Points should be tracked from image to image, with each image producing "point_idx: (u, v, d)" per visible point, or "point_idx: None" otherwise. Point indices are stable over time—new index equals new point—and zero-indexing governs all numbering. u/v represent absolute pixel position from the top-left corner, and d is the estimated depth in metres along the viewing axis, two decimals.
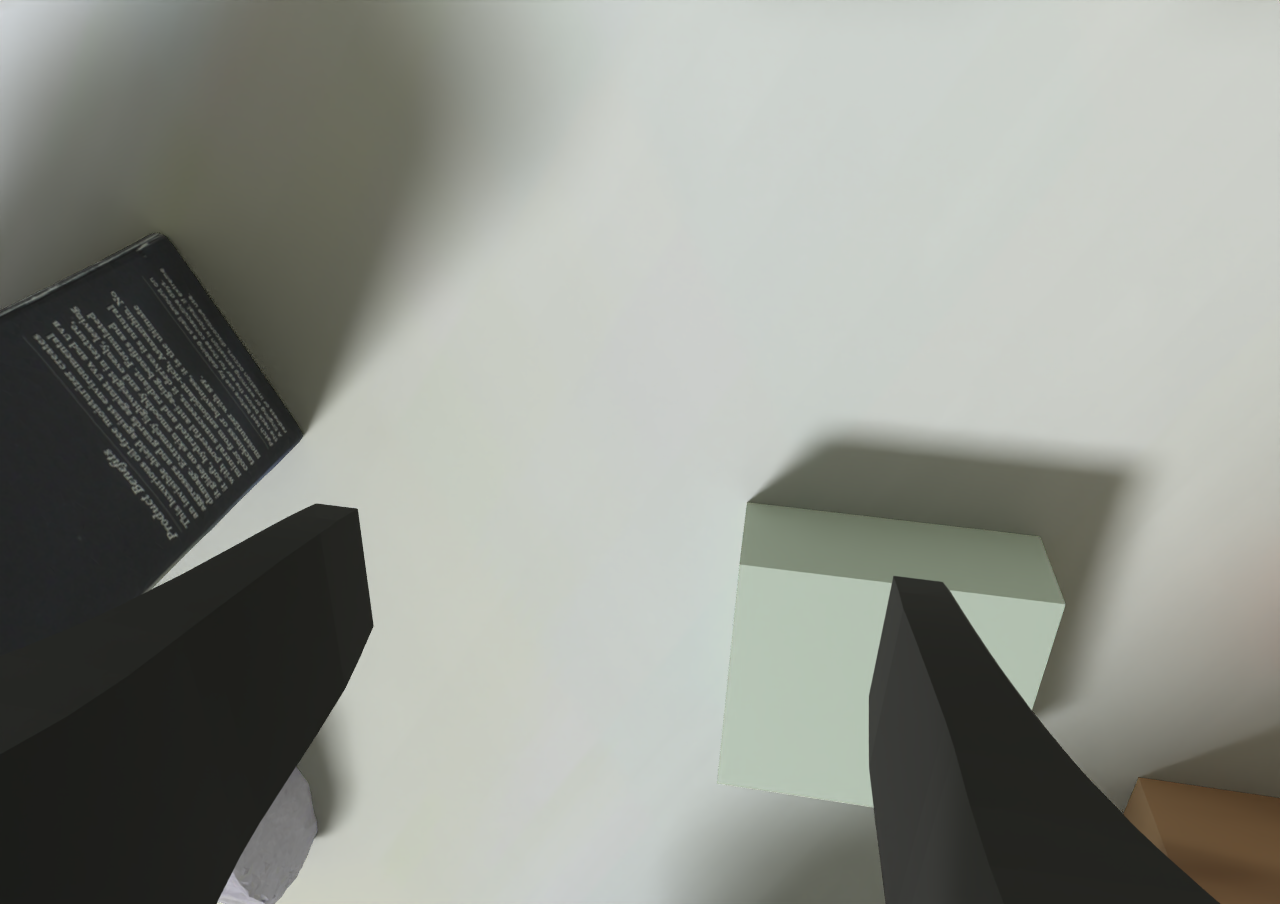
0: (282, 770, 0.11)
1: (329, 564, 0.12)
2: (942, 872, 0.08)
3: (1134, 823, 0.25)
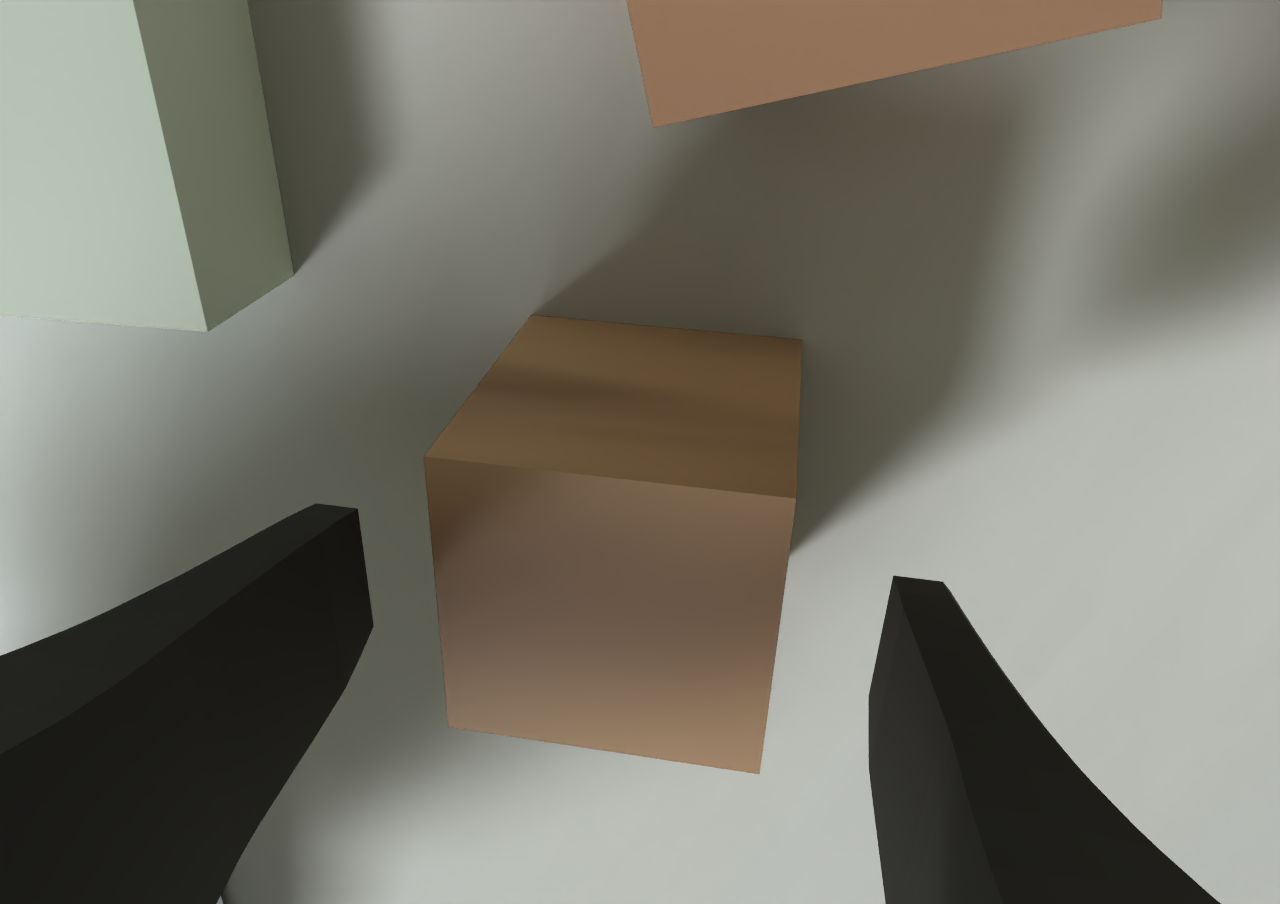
0: (282, 770, 0.11)
1: (329, 564, 0.12)
2: (942, 872, 0.08)
3: None
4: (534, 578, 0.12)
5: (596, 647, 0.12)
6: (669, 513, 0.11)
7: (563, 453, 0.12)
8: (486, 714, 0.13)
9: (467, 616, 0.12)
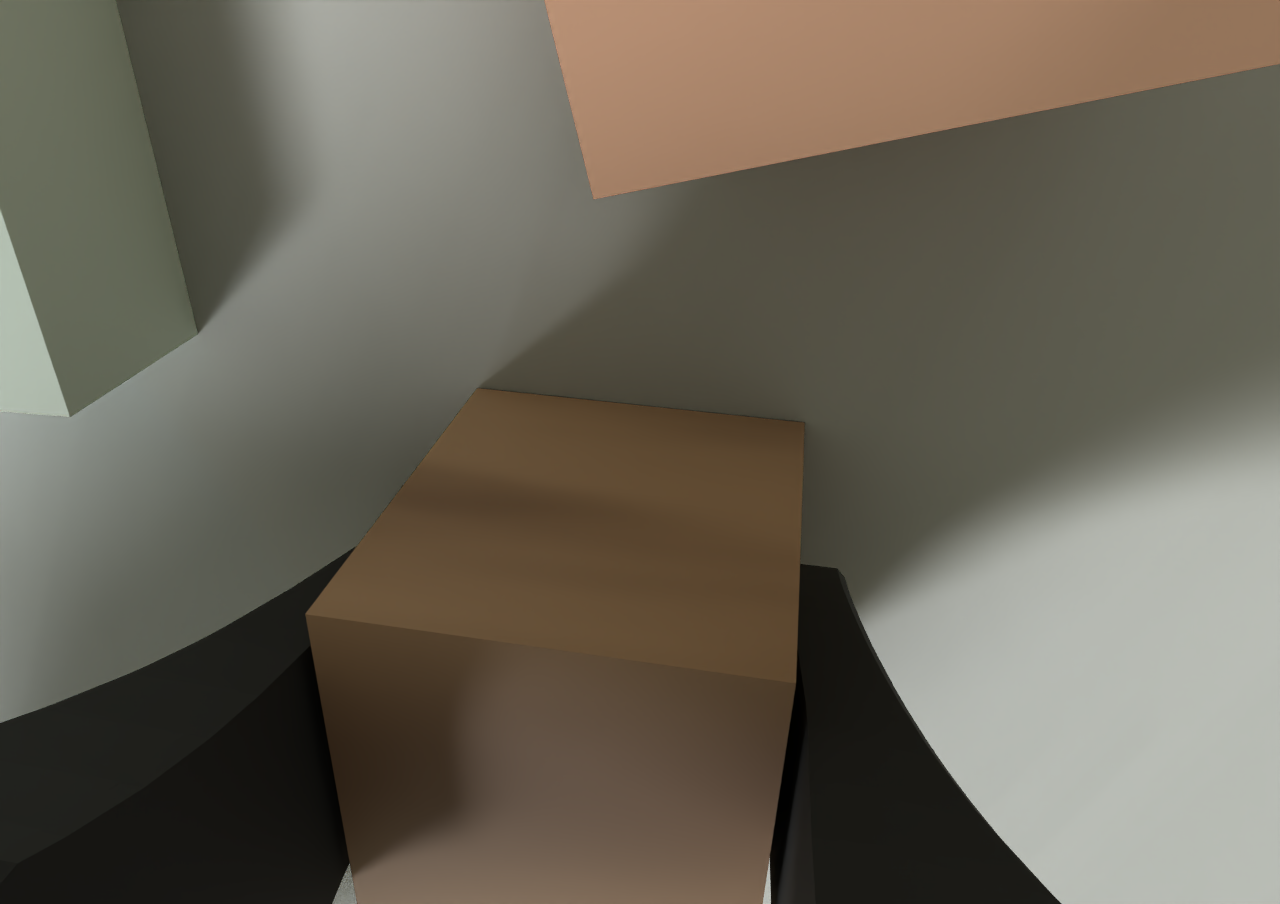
0: None
1: None
2: (795, 848, 0.08)
3: None
4: (456, 761, 0.09)
5: (540, 843, 0.10)
6: (627, 694, 0.08)
7: (490, 606, 0.09)
8: None
9: (375, 800, 0.10)
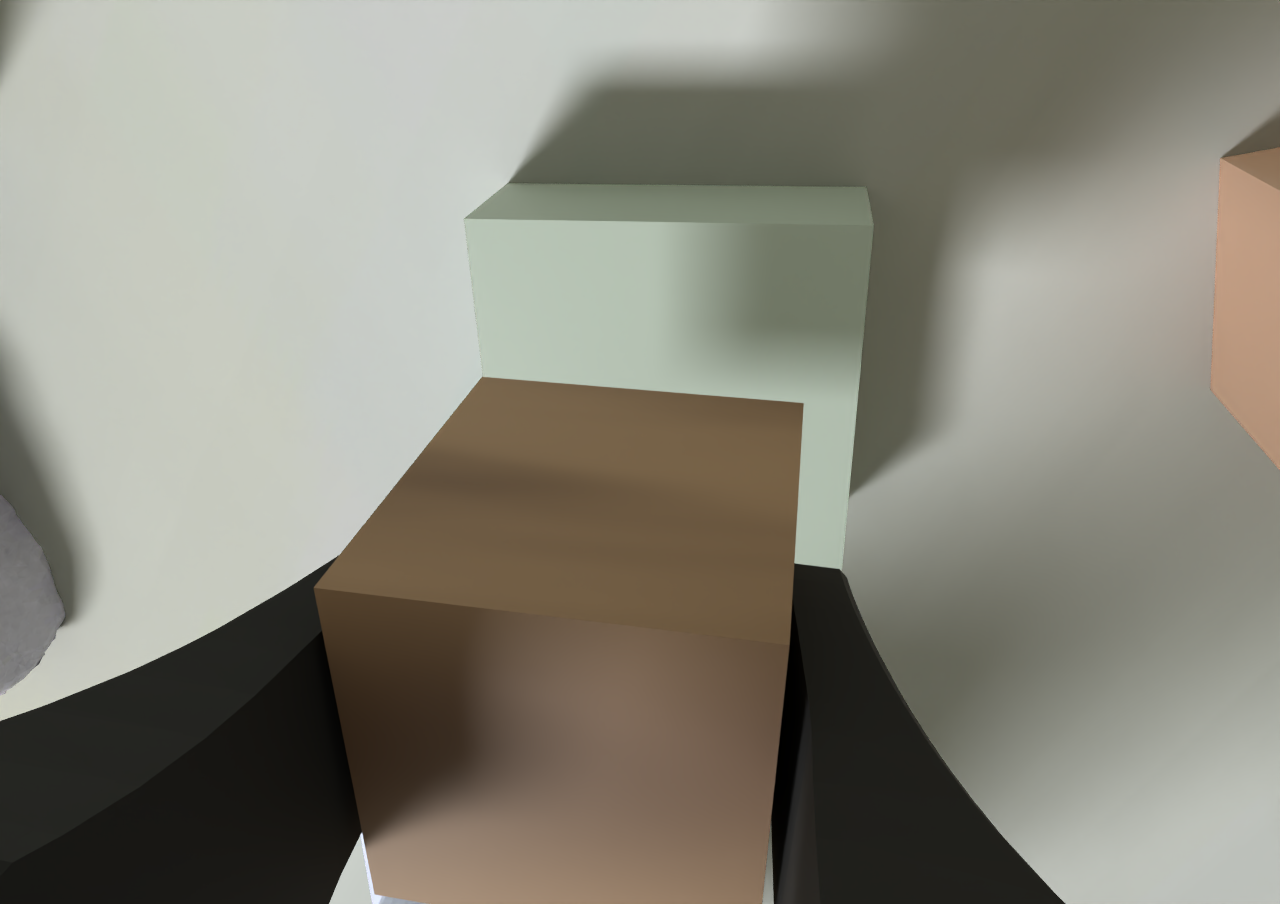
0: None
1: None
2: (798, 849, 0.08)
3: None
4: (463, 732, 0.09)
5: (546, 812, 0.10)
6: (625, 660, 0.09)
7: (492, 578, 0.09)
8: (418, 882, 0.11)
9: (385, 773, 0.10)
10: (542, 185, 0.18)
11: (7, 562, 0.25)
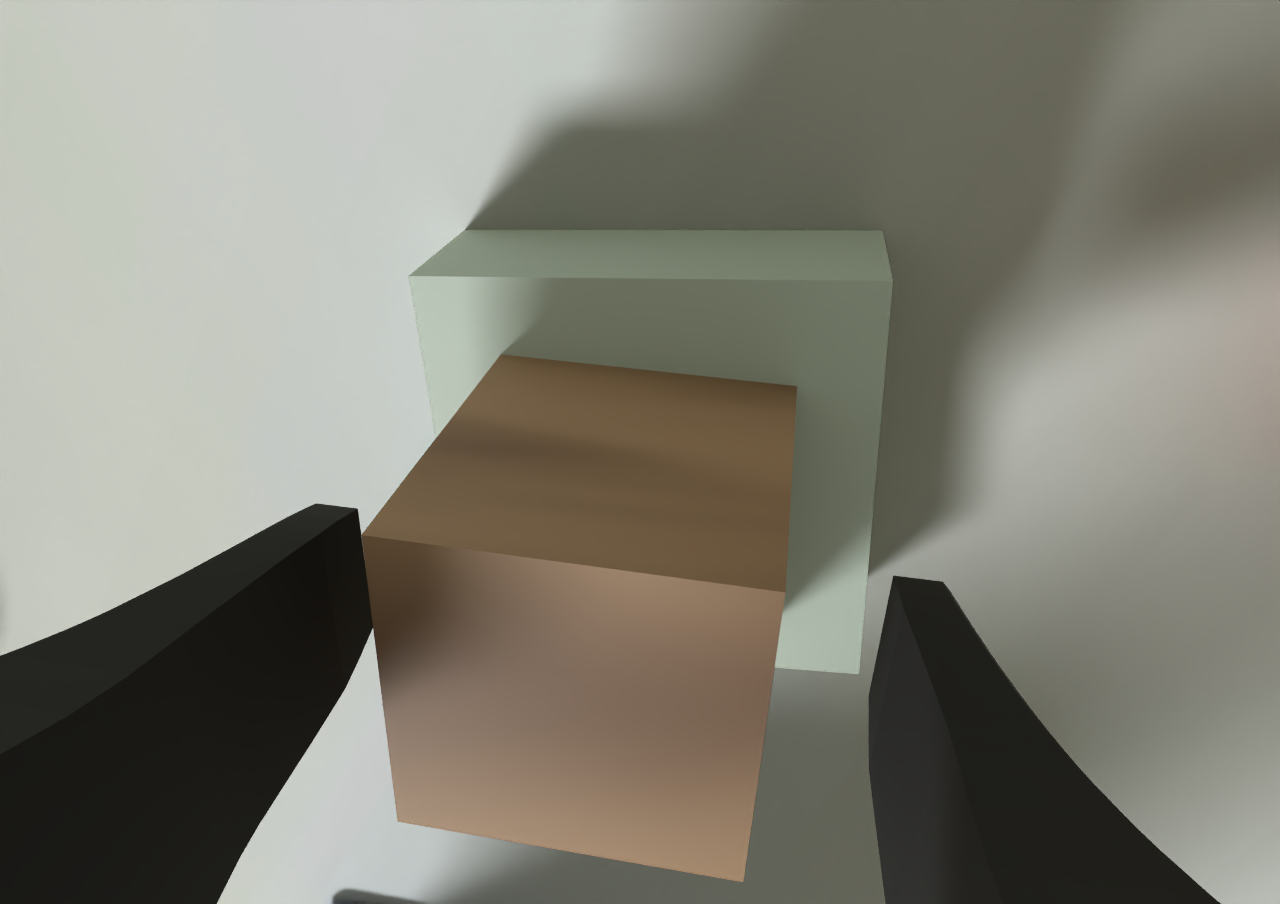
0: (282, 770, 0.11)
1: (329, 564, 0.12)
2: (942, 872, 0.08)
3: None
4: (489, 669, 0.11)
5: (560, 745, 0.11)
6: (640, 604, 0.10)
7: (521, 530, 0.10)
8: (439, 810, 0.12)
9: (415, 706, 0.11)
10: (506, 230, 0.16)
11: None
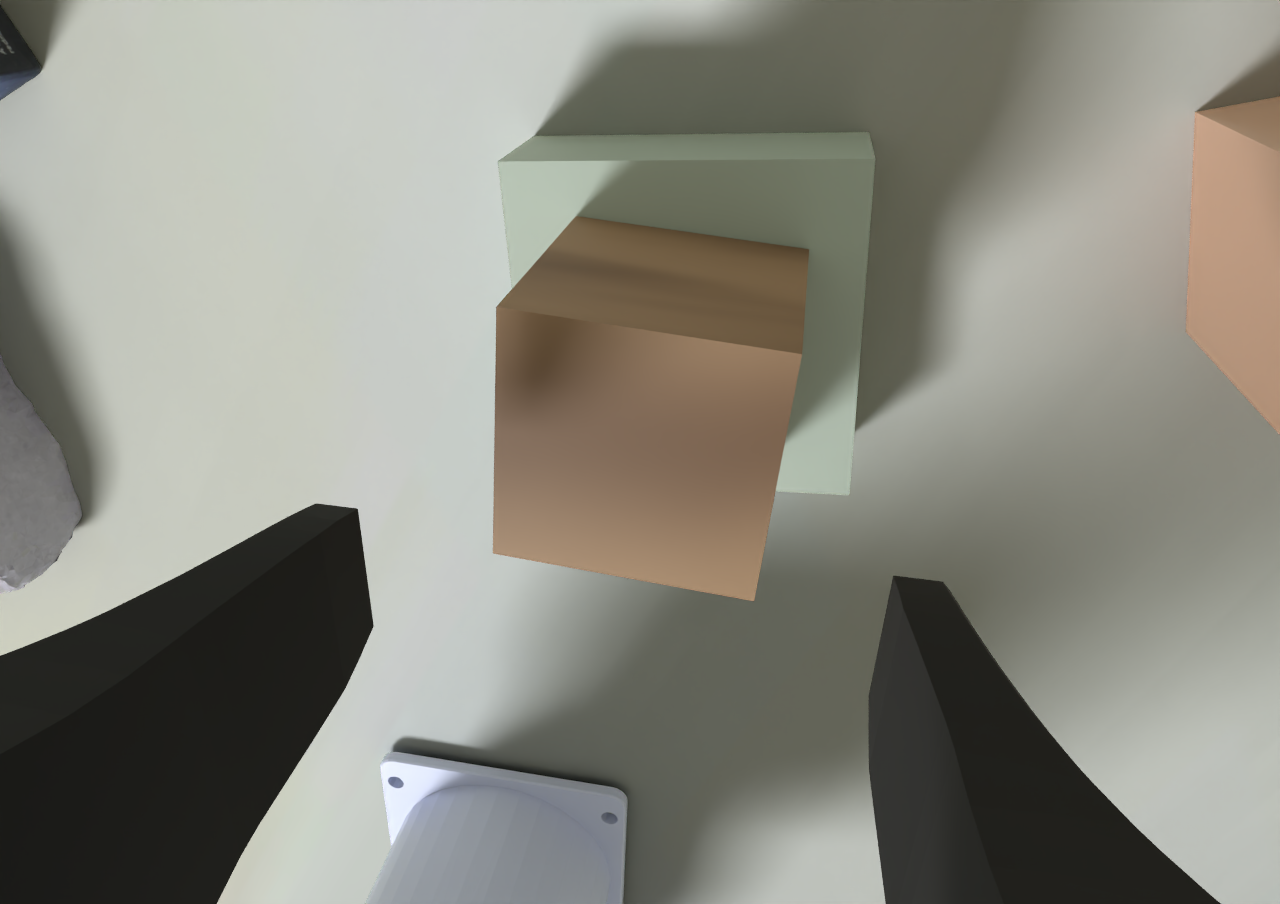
0: (282, 770, 0.11)
1: (329, 564, 0.12)
2: (942, 872, 0.08)
3: None
4: (579, 418, 0.14)
5: (627, 482, 0.15)
6: (696, 364, 0.14)
7: (610, 312, 0.14)
8: (526, 542, 0.16)
9: (519, 452, 0.15)
10: (567, 136, 0.20)
11: (26, 456, 0.26)
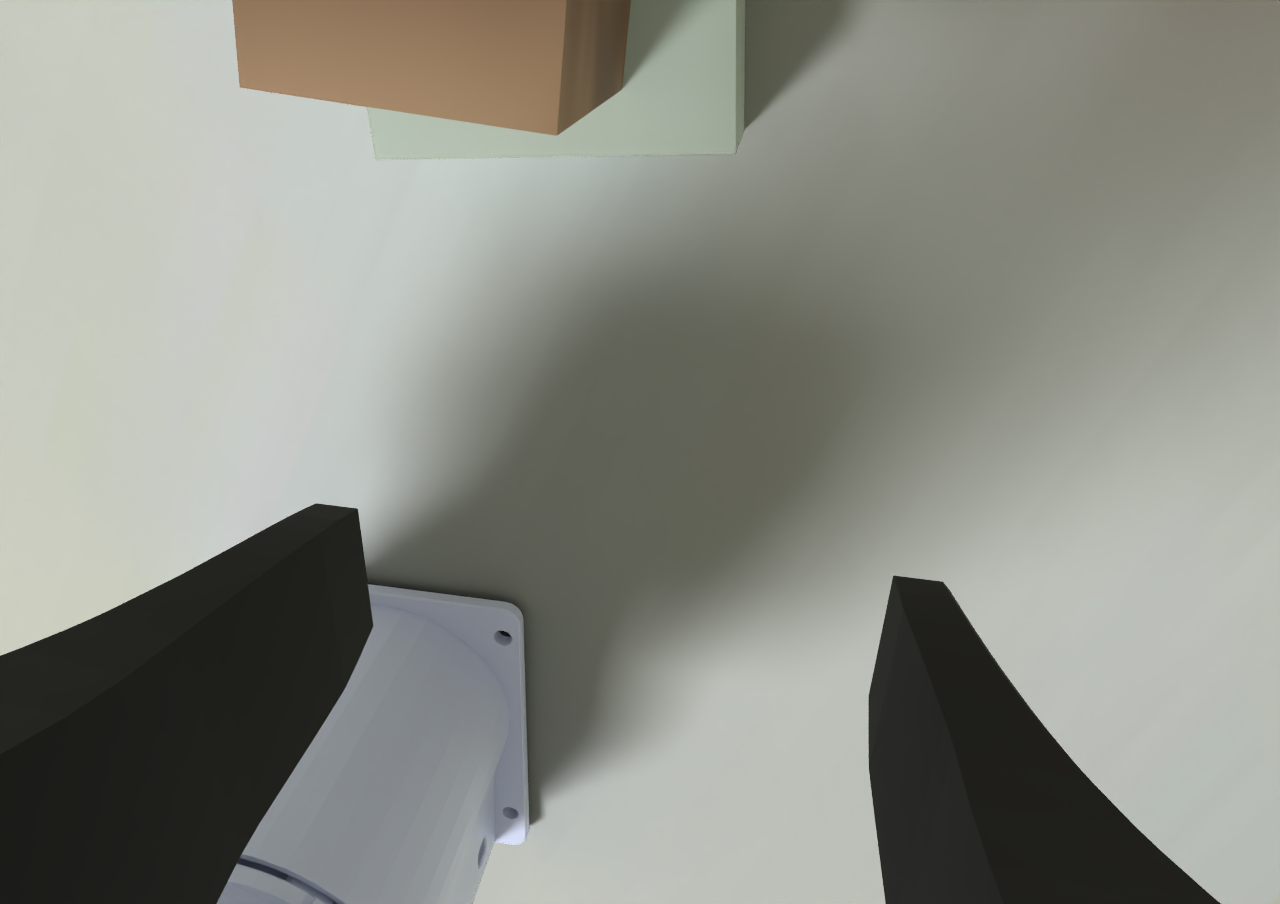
0: (282, 770, 0.11)
1: (329, 564, 0.12)
2: (942, 872, 0.08)
3: None
4: None
5: None
6: None
7: None
8: (278, 65, 0.13)
9: None
10: None
11: None
